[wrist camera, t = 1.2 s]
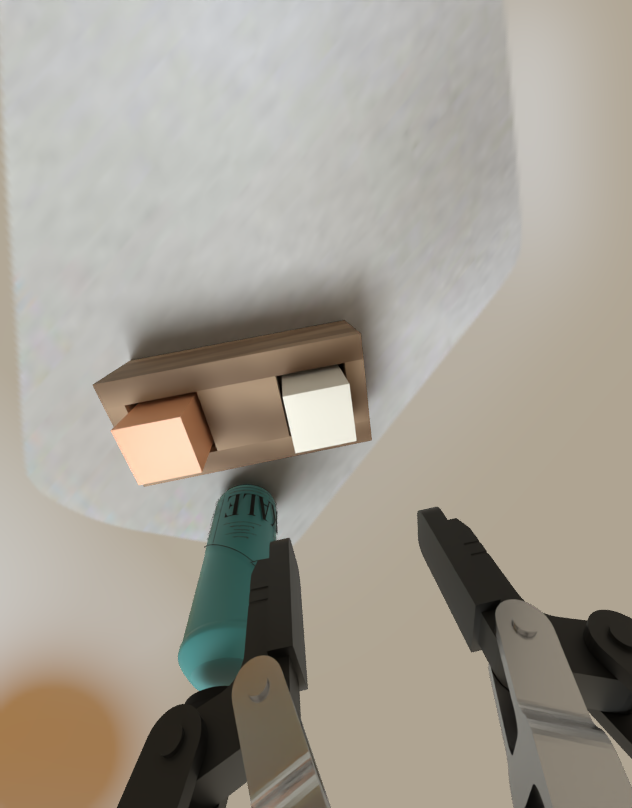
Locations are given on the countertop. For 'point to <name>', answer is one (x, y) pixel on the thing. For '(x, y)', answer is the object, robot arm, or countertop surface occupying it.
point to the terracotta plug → (165, 438)
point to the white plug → (318, 408)
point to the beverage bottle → (226, 590)
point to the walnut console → (243, 389)
